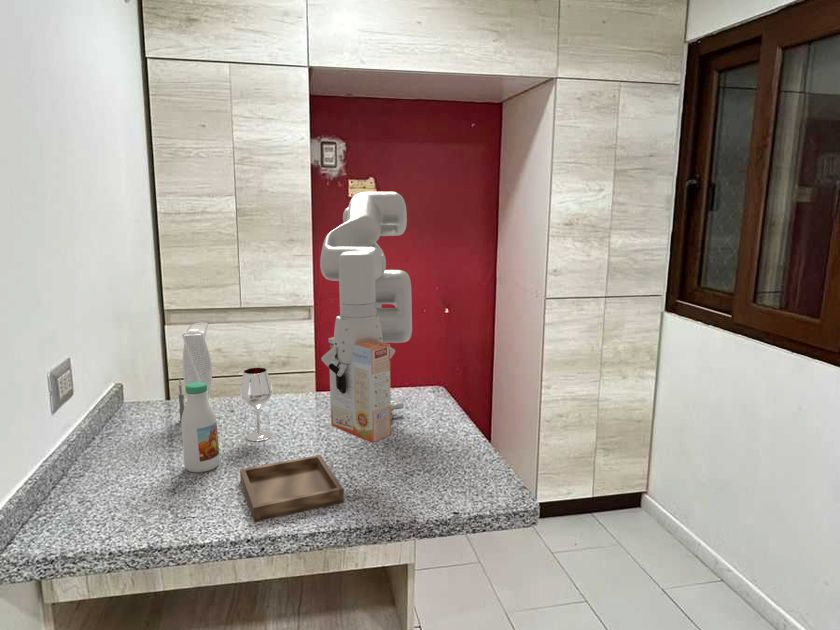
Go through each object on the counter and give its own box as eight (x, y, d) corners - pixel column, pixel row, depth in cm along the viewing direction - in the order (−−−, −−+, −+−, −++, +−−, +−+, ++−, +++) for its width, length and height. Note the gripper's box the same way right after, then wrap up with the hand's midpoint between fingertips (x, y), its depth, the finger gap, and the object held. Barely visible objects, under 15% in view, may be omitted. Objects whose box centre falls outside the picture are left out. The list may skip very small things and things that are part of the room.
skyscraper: (205, 413, 172) (197, 319, 167) (222, 419, 168) (215, 323, 162) (178, 422, 166) (170, 325, 160) (195, 429, 161) (187, 328, 156)
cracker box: (392, 436, 129) (391, 343, 124) (372, 444, 124) (370, 349, 120) (350, 418, 138) (348, 332, 133) (330, 426, 134) (327, 337, 129)
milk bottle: (186, 476, 133) (179, 391, 129) (183, 463, 140) (175, 382, 136) (222, 469, 137) (216, 386, 133) (217, 456, 143) (211, 377, 139)
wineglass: (279, 431, 159) (276, 366, 155) (268, 443, 151) (264, 375, 147) (249, 430, 159) (245, 365, 156) (237, 442, 151) (233, 374, 148)
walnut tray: (320, 466, 138) (320, 454, 137) (343, 502, 122) (343, 488, 121) (240, 482, 130) (240, 469, 130) (254, 522, 114) (253, 507, 114)
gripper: (389, 303, 132) (390, 378, 136) (313, 310, 125) (316, 389, 129) (402, 309, 125) (403, 388, 129) (322, 317, 118) (325, 400, 122)
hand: (359, 388), depth 129 cm, fingers closed on cracker box, 7 cm apart
